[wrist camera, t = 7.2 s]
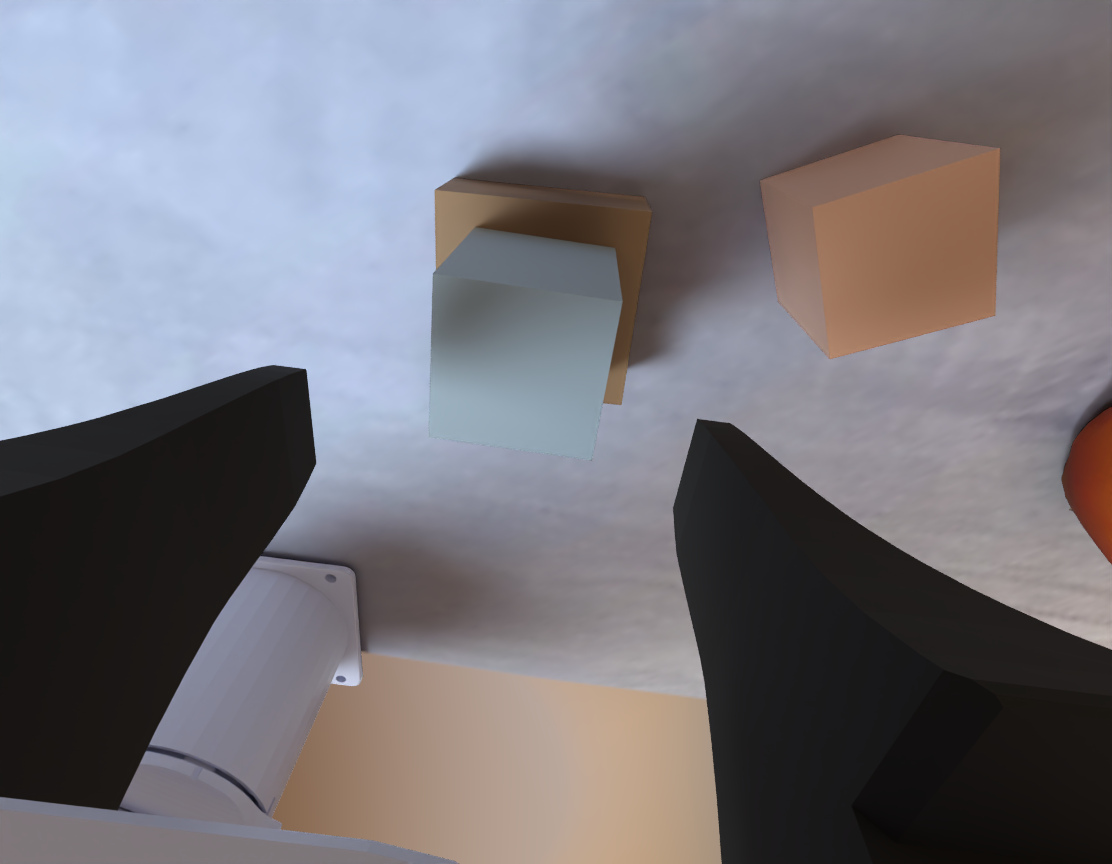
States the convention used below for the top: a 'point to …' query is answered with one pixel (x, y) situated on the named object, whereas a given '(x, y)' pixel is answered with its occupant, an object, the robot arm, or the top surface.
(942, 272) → the terracotta block
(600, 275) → the grayish teal block
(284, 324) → the top surface
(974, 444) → the top surface
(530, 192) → the walnut block
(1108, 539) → the fruit
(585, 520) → the top surface
